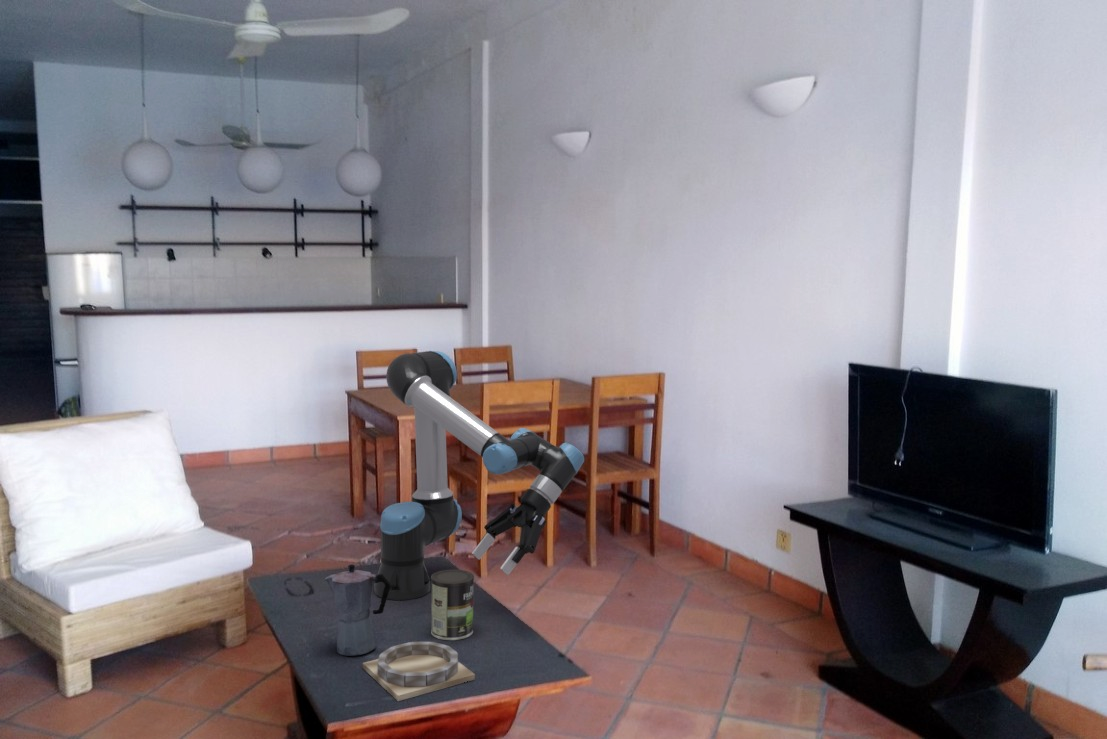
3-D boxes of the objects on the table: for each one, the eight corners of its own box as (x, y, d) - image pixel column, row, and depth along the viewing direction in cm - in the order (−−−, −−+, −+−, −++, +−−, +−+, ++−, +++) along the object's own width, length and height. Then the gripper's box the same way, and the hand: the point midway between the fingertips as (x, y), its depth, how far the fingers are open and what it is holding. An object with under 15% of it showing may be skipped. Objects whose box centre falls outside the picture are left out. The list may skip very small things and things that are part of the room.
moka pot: (330, 639, 209) (330, 557, 207) (395, 641, 209) (395, 559, 207) (318, 656, 200) (317, 570, 197) (386, 658, 199) (386, 573, 197)
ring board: (362, 668, 194) (362, 652, 194) (435, 649, 205) (436, 634, 204) (397, 701, 180) (398, 684, 179) (474, 679, 190) (475, 663, 190)
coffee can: (478, 626, 219) (479, 571, 217) (466, 642, 209) (466, 585, 207) (438, 621, 221) (439, 567, 219) (424, 638, 211) (425, 581, 209)
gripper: (577, 516, 217) (526, 587, 210) (522, 495, 238) (473, 558, 231) (560, 498, 214) (507, 569, 207) (505, 478, 234) (455, 542, 227)
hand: (489, 564), depth 219 cm, fingers open, 13 cm apart
